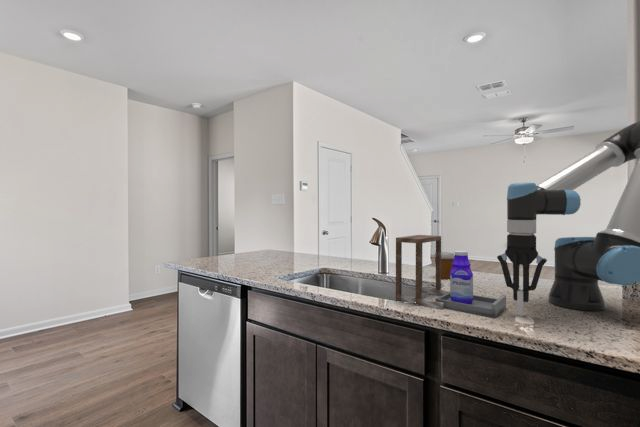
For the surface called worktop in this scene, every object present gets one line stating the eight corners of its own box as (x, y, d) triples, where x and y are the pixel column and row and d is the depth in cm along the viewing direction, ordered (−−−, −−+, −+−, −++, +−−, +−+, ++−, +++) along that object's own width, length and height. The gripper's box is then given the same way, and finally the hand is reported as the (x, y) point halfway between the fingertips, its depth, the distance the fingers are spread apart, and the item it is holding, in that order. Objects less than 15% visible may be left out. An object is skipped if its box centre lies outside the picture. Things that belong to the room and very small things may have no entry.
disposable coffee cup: (456, 280, 149) (457, 254, 149) (435, 280, 151) (435, 254, 151) (452, 276, 158) (452, 252, 158) (432, 276, 160) (432, 251, 160)
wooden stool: (461, 298, 119) (461, 237, 119) (441, 309, 105) (442, 240, 104) (418, 290, 130) (418, 234, 130) (395, 300, 115) (395, 237, 115)
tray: (506, 307, 107) (506, 295, 107) (495, 318, 96) (495, 304, 96) (450, 298, 119) (450, 287, 119) (435, 306, 108) (435, 294, 108)
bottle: (449, 303, 108) (449, 251, 108) (449, 299, 114) (450, 249, 114) (473, 305, 106) (473, 252, 106) (472, 301, 111) (472, 250, 111)
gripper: (549, 234, 97) (548, 313, 97) (500, 232, 105) (499, 305, 105) (545, 235, 91) (545, 319, 91) (494, 233, 99) (494, 310, 100)
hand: (520, 311), depth 98 cm, fingers closed
